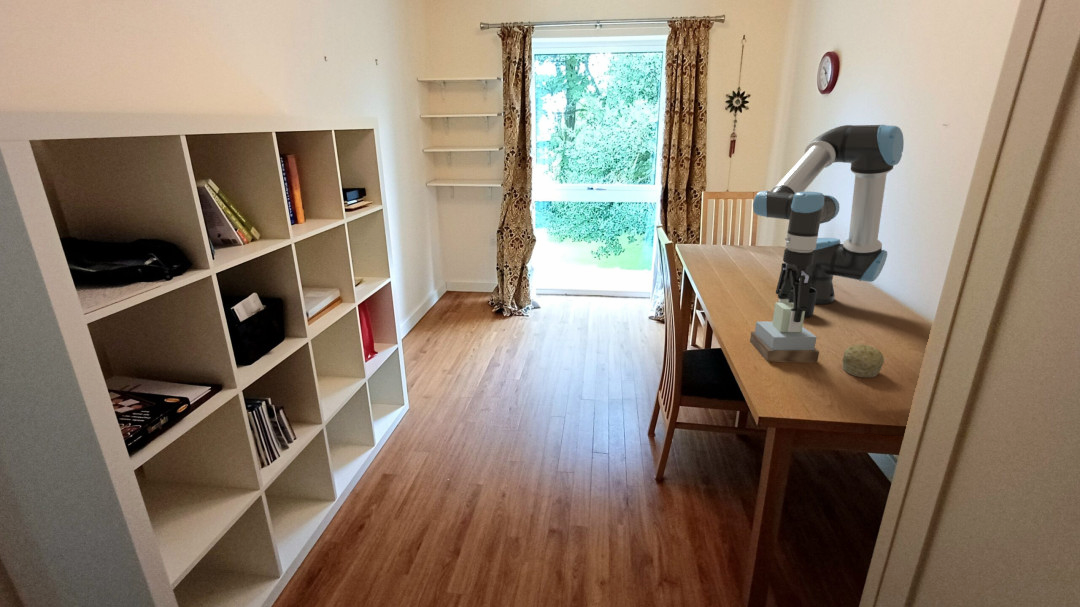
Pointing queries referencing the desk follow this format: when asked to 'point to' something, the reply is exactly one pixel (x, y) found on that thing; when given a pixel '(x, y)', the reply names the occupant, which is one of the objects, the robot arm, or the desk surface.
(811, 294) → the mug
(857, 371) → the decorative item
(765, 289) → the desk surface
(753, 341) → the bottom slab
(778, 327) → the block
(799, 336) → the top slab
